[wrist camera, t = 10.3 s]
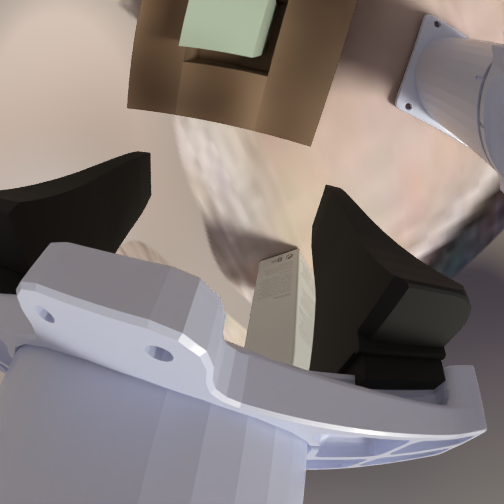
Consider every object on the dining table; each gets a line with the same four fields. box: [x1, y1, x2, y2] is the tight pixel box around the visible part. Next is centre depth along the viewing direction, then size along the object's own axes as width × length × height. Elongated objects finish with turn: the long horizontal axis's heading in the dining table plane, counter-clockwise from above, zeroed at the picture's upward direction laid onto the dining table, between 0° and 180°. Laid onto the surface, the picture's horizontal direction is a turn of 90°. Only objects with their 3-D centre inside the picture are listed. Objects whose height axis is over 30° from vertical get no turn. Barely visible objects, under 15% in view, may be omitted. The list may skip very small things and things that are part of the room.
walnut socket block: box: [127, 0, 358, 147], centre depth 14 cm, size 12×12×4 cm
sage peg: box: [179, 0, 279, 58], centre depth 12 cm, size 4×4×6 cm
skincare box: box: [244, 249, 316, 370], centre depth 24 cm, size 6×4×12 cm
